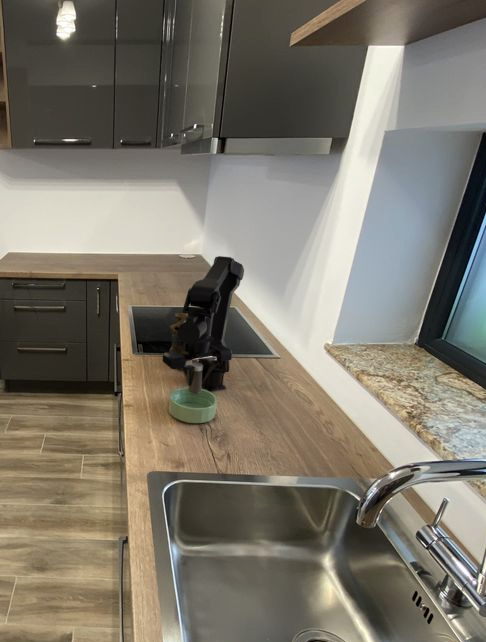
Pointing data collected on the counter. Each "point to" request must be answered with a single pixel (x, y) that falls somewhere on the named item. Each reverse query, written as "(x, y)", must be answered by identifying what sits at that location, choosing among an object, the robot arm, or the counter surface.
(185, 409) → the bowl
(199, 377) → the shaker
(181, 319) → the pottery vessel
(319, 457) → the counter surface
